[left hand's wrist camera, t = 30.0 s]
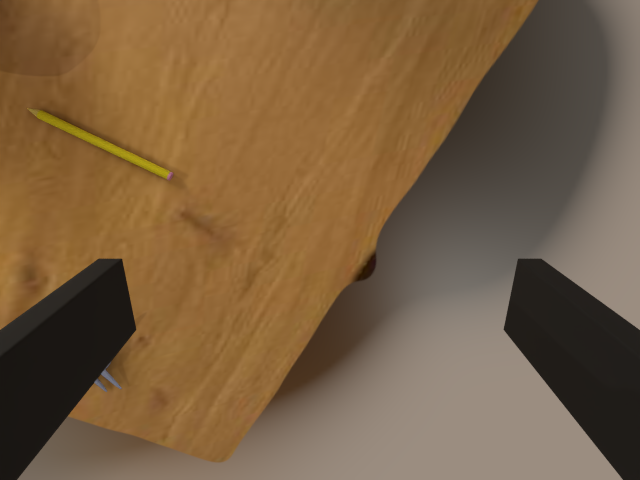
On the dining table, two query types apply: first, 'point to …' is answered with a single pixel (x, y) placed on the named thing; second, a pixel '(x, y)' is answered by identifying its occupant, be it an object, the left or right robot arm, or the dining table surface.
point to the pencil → (101, 143)
